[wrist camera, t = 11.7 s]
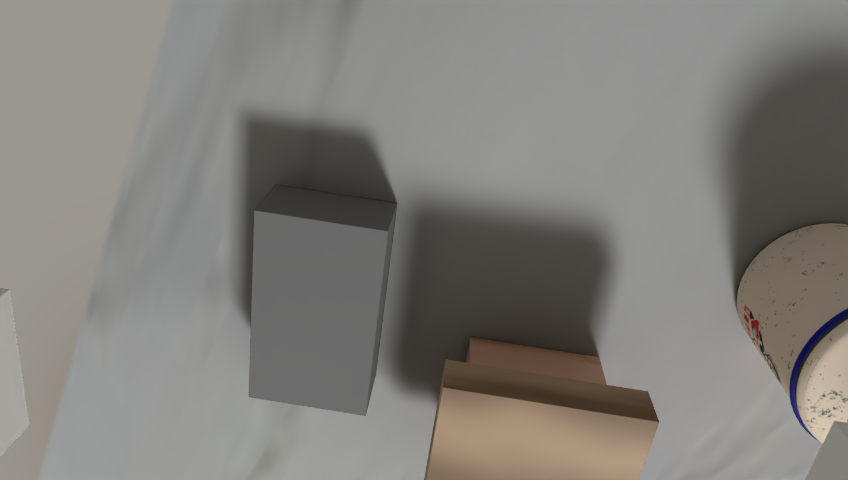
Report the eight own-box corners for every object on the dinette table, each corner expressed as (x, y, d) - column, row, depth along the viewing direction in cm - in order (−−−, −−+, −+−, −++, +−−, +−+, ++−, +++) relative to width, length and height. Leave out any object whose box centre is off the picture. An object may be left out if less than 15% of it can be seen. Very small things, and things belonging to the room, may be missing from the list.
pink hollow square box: (470, 336, 41) (468, 386, 37) (599, 357, 41) (613, 409, 37) (450, 437, 45) (447, 494, 40) (570, 456, 45) (579, 515, 40)
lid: (445, 359, 36) (442, 387, 34) (647, 391, 36) (659, 422, 34) (419, 508, 41) (415, 542, 39) (598, 537, 41) (605, 573, 38)
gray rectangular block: (276, 184, 38) (254, 210, 35) (397, 203, 38) (388, 231, 35) (268, 358, 43) (248, 396, 40) (375, 375, 43) (365, 415, 40)
